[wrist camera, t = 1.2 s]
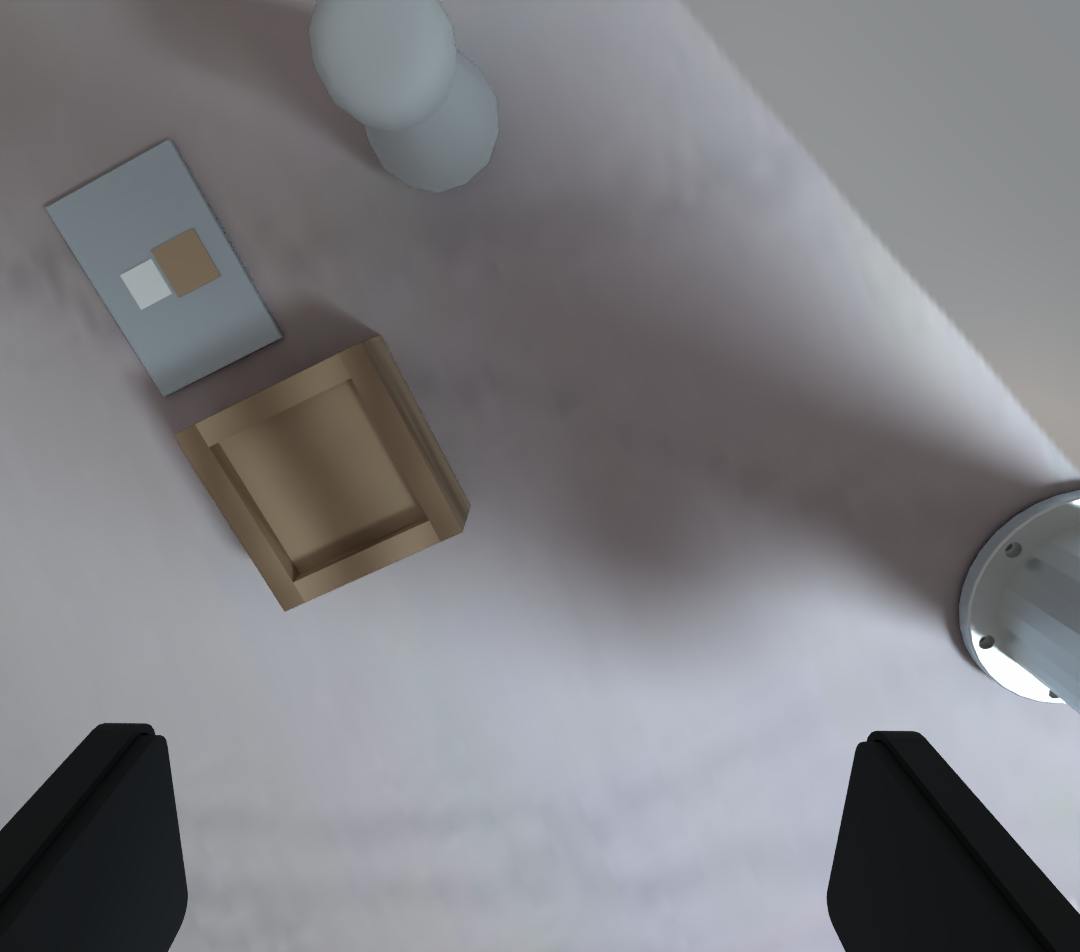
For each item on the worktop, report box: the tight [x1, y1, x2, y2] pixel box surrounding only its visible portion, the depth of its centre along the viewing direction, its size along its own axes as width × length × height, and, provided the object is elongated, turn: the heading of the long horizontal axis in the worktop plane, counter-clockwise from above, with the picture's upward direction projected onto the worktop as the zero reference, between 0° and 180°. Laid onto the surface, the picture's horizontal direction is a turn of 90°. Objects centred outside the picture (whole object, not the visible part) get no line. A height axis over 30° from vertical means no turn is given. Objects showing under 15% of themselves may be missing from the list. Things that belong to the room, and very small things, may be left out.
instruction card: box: [45, 139, 283, 397], centre depth 34 cm, size 7×10×1 cm
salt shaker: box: [309, 0, 499, 193], centre depth 26 cm, size 6×6×13 cm
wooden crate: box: [173, 335, 471, 611], centre depth 35 cm, size 10×10×4 cm
